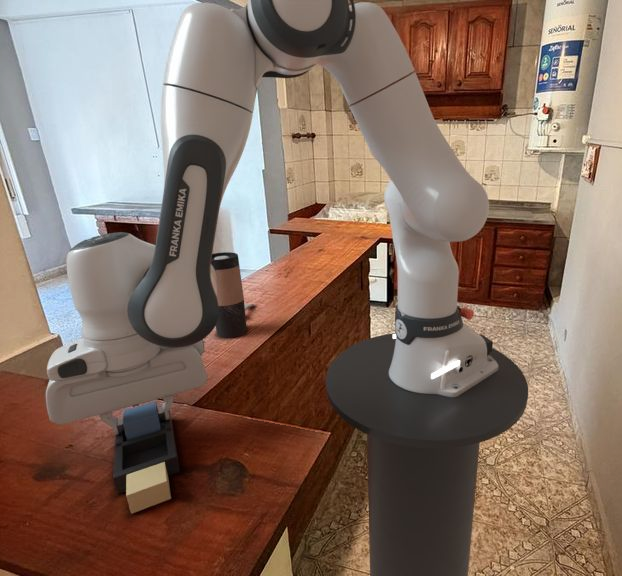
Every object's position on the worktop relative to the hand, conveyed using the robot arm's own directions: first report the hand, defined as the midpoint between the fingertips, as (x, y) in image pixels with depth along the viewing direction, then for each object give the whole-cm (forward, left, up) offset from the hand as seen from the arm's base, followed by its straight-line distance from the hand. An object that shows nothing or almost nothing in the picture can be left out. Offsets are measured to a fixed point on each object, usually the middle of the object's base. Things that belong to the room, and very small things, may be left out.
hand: (143, 425), depth 62 cm
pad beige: (0, +13, -3) cm, 13 cm away
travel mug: (-20, -35, -3) cm, 40 cm away
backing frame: (0, +3, -3) cm, 4 cm away
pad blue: (0, 0, -1) cm, 1 cm away
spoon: (-26, -46, -3) cm, 53 cm away
